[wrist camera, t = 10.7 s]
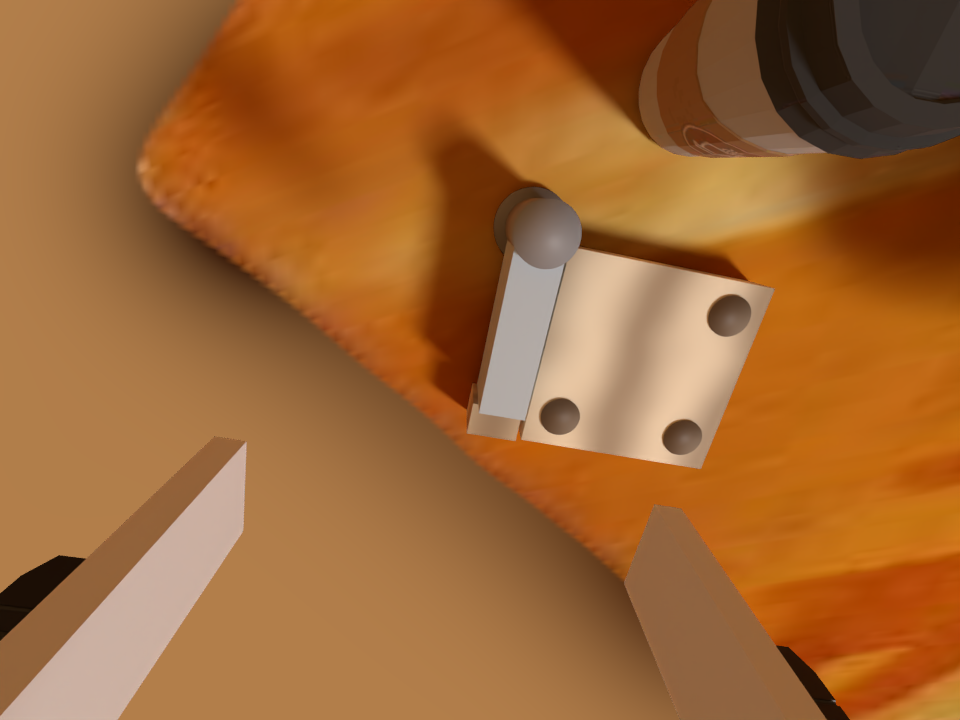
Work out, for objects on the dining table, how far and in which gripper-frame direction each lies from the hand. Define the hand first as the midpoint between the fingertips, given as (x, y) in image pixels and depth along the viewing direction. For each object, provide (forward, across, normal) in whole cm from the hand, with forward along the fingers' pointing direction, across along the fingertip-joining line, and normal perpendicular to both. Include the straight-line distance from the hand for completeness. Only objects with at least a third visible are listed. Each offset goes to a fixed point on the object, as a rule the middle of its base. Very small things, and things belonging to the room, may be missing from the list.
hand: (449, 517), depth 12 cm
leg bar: (+18, +3, +7) cm, 19 cm away
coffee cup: (+18, +10, +16) cm, 26 cm away
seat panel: (+18, +11, 0) cm, 21 cm away
